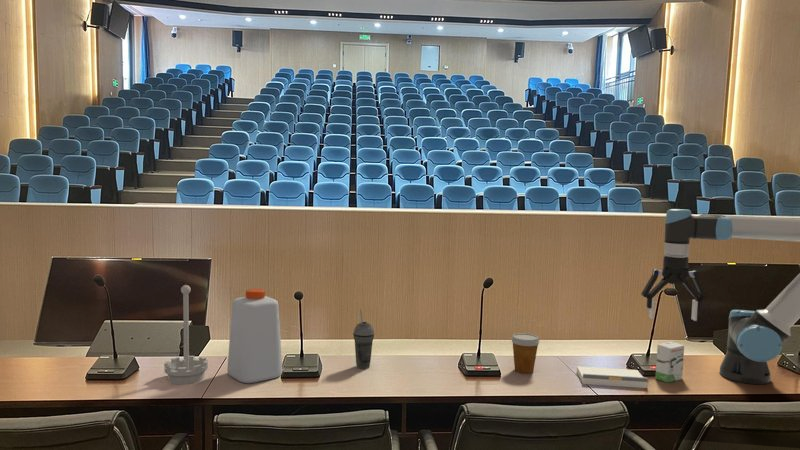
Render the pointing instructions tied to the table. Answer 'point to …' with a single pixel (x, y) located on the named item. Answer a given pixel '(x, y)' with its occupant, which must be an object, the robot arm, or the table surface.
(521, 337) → the disposable coffee cup
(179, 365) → the flag stand
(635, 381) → the white slab
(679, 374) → the ink box
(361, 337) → the beverage cup
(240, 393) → the table surface
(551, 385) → the table surface
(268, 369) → the plastic bottle
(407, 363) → the table surface
